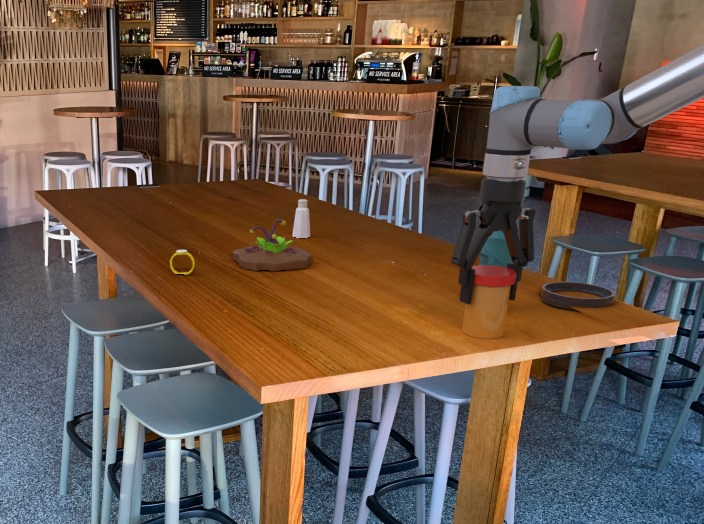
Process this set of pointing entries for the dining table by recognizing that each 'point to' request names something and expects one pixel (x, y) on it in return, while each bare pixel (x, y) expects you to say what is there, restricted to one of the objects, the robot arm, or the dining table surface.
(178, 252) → the gold ring with gem
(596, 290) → the dark grey ring
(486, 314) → the jar
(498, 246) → the beverage bottle
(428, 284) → the dining table surface
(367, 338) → the dining table surface
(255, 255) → the plant
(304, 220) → the pepper shaker
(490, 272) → the cap
